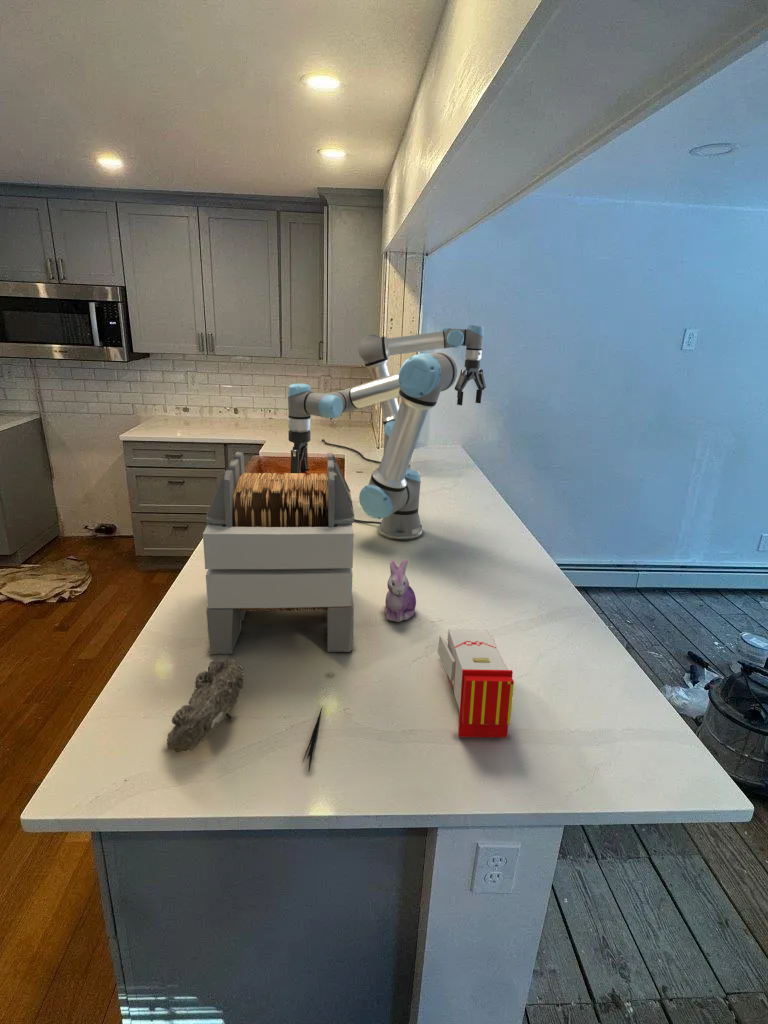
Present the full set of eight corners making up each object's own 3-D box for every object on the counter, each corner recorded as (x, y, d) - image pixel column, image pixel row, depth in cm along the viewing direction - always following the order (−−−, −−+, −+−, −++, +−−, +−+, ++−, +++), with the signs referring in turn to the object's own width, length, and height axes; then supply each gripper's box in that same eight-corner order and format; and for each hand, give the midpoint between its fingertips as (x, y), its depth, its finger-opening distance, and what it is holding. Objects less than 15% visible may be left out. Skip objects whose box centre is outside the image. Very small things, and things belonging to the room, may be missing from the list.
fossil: (192, 660, 117) (244, 628, 112) (224, 691, 120) (276, 661, 115) (142, 746, 98) (202, 712, 93) (182, 779, 101) (242, 748, 96)
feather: (331, 679, 122) (336, 673, 122) (307, 777, 96) (313, 769, 95) (324, 675, 122) (329, 669, 121) (298, 772, 95) (304, 764, 95)
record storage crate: (229, 585, 158) (221, 442, 144) (346, 584, 161) (350, 444, 148) (206, 656, 126) (193, 481, 112) (353, 652, 130) (358, 483, 116)
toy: (488, 613, 130) (523, 677, 101) (484, 667, 133) (517, 744, 104) (435, 612, 130) (455, 676, 101) (432, 666, 133) (451, 743, 103)
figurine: (392, 627, 141) (395, 572, 136) (374, 608, 149) (376, 556, 144) (425, 619, 145) (429, 566, 140) (405, 601, 154) (408, 550, 149)
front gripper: (296, 423, 205) (296, 483, 213) (279, 435, 185) (280, 501, 193) (317, 424, 204) (316, 484, 212) (302, 437, 185) (302, 502, 192)
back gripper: (461, 360, 260) (457, 407, 267) (495, 359, 276) (491, 403, 283) (449, 359, 265) (445, 404, 273) (483, 358, 281) (479, 401, 288)
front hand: (299, 492), depth 203 cm, fingers closed on tin, 8 cm apart
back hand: (468, 404), depth 278 cm, fingers open, 13 cm apart
